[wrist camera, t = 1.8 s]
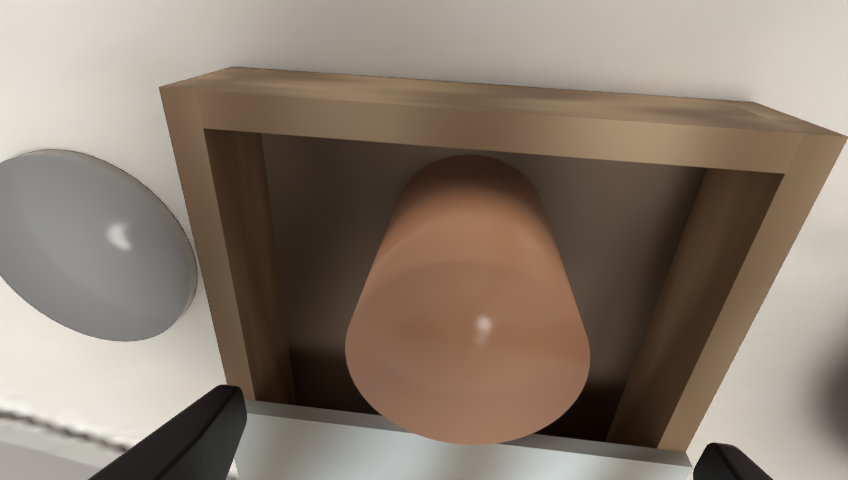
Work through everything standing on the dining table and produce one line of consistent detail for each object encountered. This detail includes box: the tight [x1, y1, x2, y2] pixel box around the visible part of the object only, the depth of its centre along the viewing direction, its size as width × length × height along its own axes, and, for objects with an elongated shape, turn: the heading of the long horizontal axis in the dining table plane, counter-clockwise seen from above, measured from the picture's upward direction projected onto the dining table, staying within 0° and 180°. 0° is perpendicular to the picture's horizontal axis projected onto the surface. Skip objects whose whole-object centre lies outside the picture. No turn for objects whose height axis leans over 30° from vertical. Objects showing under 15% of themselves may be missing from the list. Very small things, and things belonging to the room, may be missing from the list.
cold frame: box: [159, 67, 848, 480], centre depth 18 cm, size 17×22×5 cm
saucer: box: [0, 150, 197, 342], centre depth 19 cm, size 9×9×1 cm
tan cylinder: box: [345, 154, 590, 445], centre depth 13 cm, size 6×6×7 cm
